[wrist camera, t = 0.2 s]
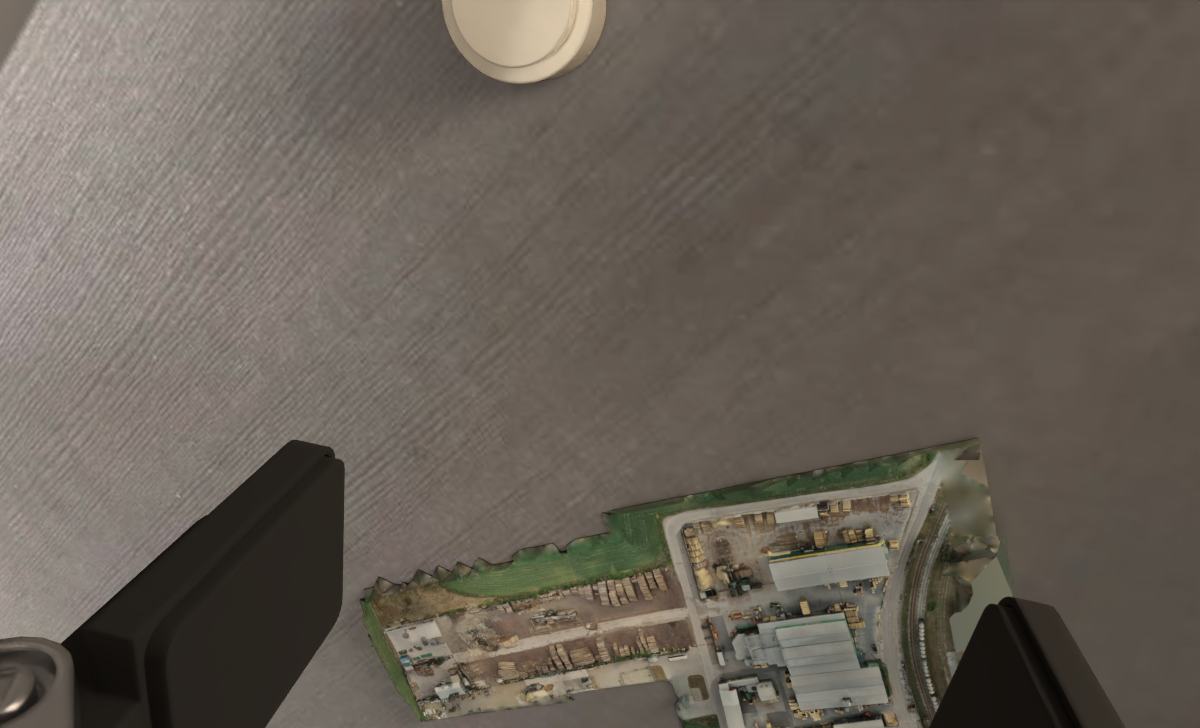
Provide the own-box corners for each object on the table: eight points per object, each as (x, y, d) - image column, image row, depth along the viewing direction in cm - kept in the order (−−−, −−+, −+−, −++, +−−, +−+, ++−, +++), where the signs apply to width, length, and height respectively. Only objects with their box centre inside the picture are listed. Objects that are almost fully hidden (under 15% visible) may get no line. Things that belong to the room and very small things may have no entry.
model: (330, 566, 37) (314, 588, 36) (977, 438, 30) (990, 458, 28) (487, 859, 44) (479, 887, 43) (1043, 817, 37) (1057, 849, 35)
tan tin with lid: (476, -85, 25) (439, -105, 22) (617, -62, 25) (600, -78, 22) (464, 67, 27) (428, 70, 24) (595, 90, 27) (576, 97, 24)
